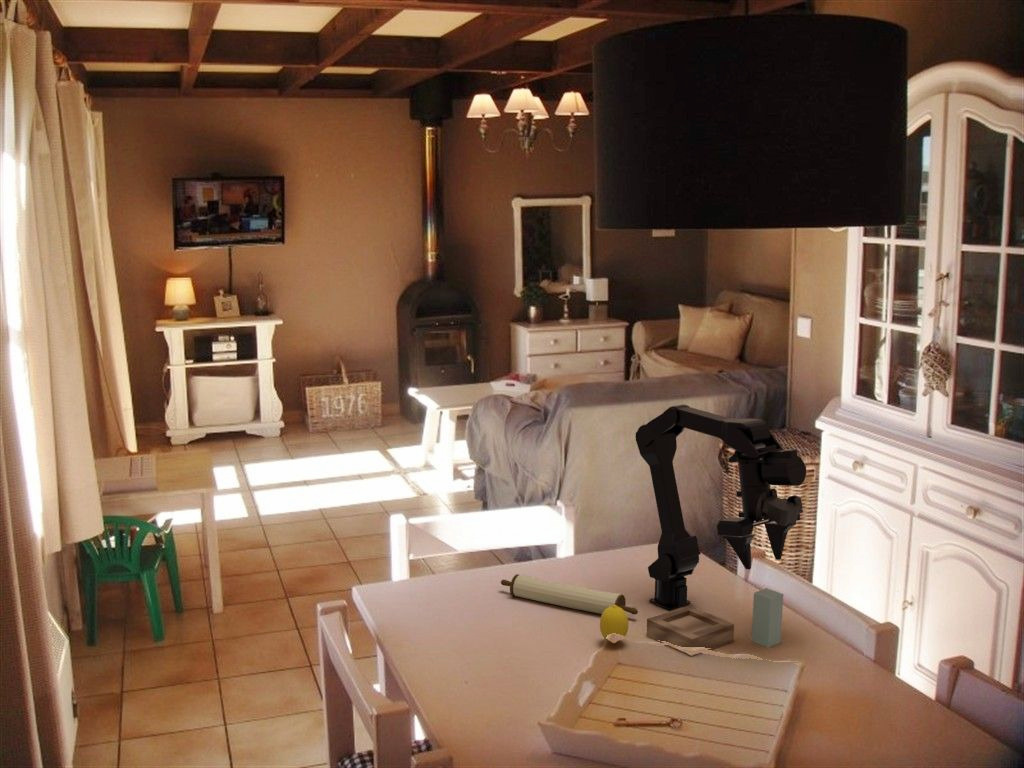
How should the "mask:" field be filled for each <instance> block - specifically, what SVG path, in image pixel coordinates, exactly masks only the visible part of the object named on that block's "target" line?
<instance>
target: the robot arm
mask: <svg viewBox="0 0 1024 768" xmlns="http://www.w3.org/2000/svg"><path fill="white" fill-rule="evenodd" d="M685 429H687V430H691V431H694V432H697V433H701V434H705V435H708V436H711V437H714V438H718V439H719V440H721V441H722V442H723V443H724V444H725V446H727V447H729V448H730V449H733V450H734V452H733V454H731V456H730V457H729V458H728V460H727V461H728V462H729V463H737V467H738V469H737V470H738V477H739V478H738V479H739V486H740V488H739V489H740V490H737V491H736V492H735V494H736V497H737V498H738V497H739V498H740V499H741V506H742V511H738V512H737V513H738V517H733V516H732V517H727V518H723V519H721V520H718V522H717V524H716V534H717V536H722V539H725V540H726V542H727V543H728V544H729V545H730V547H731V548H732V550H733V551H734V552H735V554H736V556H737V557H738V559H739V561H740V562H741V564H742V566H743V567H744V569H745V570H751V569H752V552H751V550H752V549H751V542H752V541H753V539H754V538H755V536H756V534H753V531H754V527H757V526H762V525H764V527H765V530H766V534H767V537H768V540H769V543H770V547H771V551H772V554H773V556H774V559H775V560H776V561H780V560H781V559H782V557H783V556H782V555H783V551H784V548H785V543H786V538H787V536H788V533H789V531H790V530H791V529H792V528H793V527H794V526H796V525H797V522H798V521H800V520H801V514H803V513H804V511H803V502H802V497H801V496H798V495H796V494H794V495H791V496H790V495H789V496H788V497H787V498H786V497H784V498H781V497H779V496H778V491H777V489H776V488H775V487H771V486H782V487H783V486H784V487H788V486H789V487H799V486H801V485H802V484H803V483H804V481H805V480H806V476H807V466H806V464H805V462H804V460H803V458H802V457H800V456H799V455H798V450H797V449H787V450H784V448H783V447H782V445H781V444H780V443H779V442H778V440H777V439H776V437H775V436H774V435H773V433H772V432H771V431H770V428H769V426H768V424H767V422H765V421H764V419H760V418H746V417H745V418H732V417H731V418H730V417H727V416H723V415H719V414H716V413H712V412H709V411H705V410H702V409H698V408H694V407H691V406H689V405H687V404H678V405H677V404H676V405H672V406H669V407H668V408H666V410H664V411H663V412H662V413H661V414H659V415H657V416H656V417H654V418H653V419H651V420H650V421H648V422H647V423H645V424H641V426H639V427H638V429H637V431H636V432H635V442H636V445H637V449H638V452H639V454H640V456H641V457H642V459H643V460H644V461H645V463H646V464H647V465H648V467H649V471H650V475H651V476H650V478H651V481H652V487H653V493H654V497H655V503H656V509H657V514H658V519H659V524H660V529H661V535H660V538H659V540H658V544H657V558H656V559H655V560H654V561H653V562H652V563H651V564H650V565H648V567H647V569H648V576H649V578H651V579H653V580H654V597H652V598H649V602H650V603H652V604H654V605H657V606H658V607H661V608H663V609H666V610H667V611H673V610H676V609H679V608H682V607H685V606H688V605H691V603H692V601H690V600H689V599H688V585H687V579H688V578H687V576H692V575H693V573H694V572H695V571H694V570H695V568H696V567H697V565H698V564H699V563H700V555H701V554H702V553H701V551H700V549H699V541H698V537H697V535H693V536H691V534H690V533H689V532H688V531H687V530H686V527H685V523H684V522H685V521H684V516H683V510H682V506H681V501H680V495H679V490H678V489H679V488H678V485H677V480H676V475H675V469H674V458H675V456H676V452H677V449H678V448H677V447H678V445H677V438H678V437H679V436H680V435H681V434H682V433H683V432H684V431H685Z"/></svg>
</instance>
